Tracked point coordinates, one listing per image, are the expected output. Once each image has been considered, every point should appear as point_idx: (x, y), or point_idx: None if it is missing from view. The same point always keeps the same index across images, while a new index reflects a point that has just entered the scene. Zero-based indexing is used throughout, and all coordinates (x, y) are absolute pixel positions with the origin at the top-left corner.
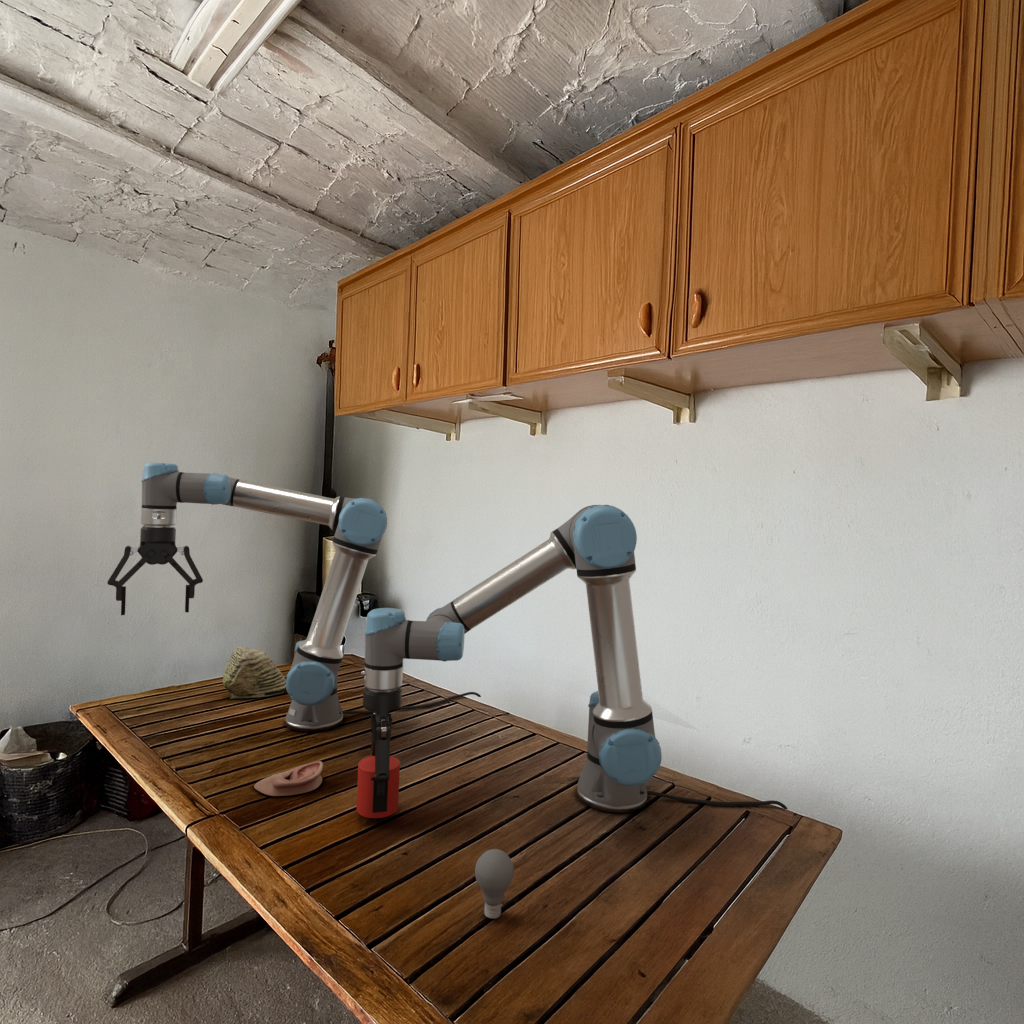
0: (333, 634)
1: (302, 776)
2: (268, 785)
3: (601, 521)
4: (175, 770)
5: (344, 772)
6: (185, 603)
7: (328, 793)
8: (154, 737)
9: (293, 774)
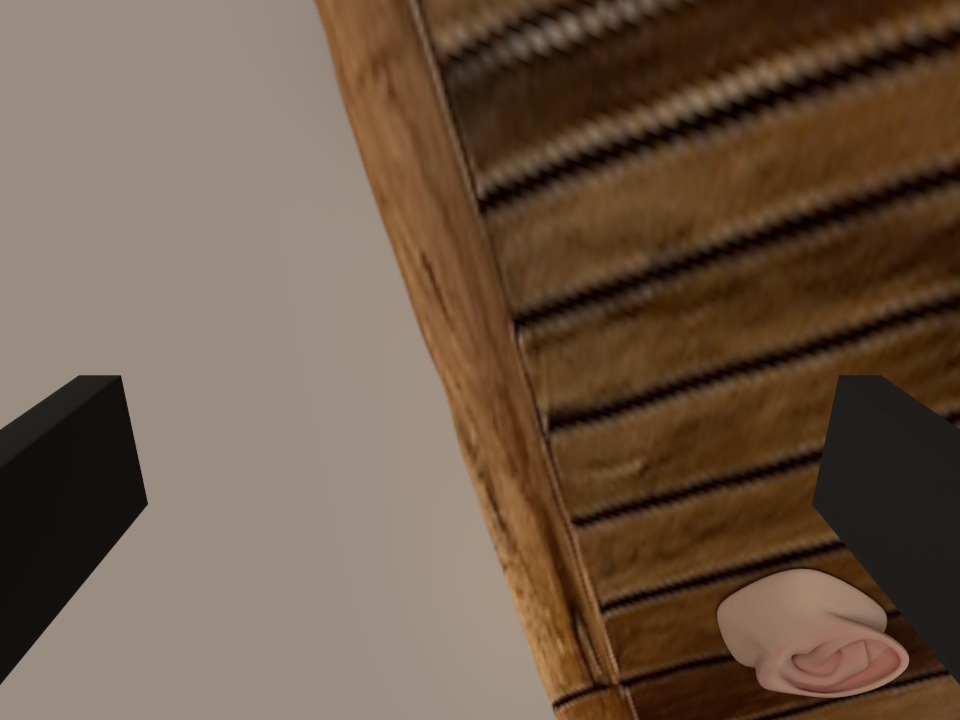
0: None
1: (836, 656)
2: (747, 646)
3: None
4: (546, 430)
5: None
6: (883, 522)
7: None
8: (491, 90)
9: (819, 653)
